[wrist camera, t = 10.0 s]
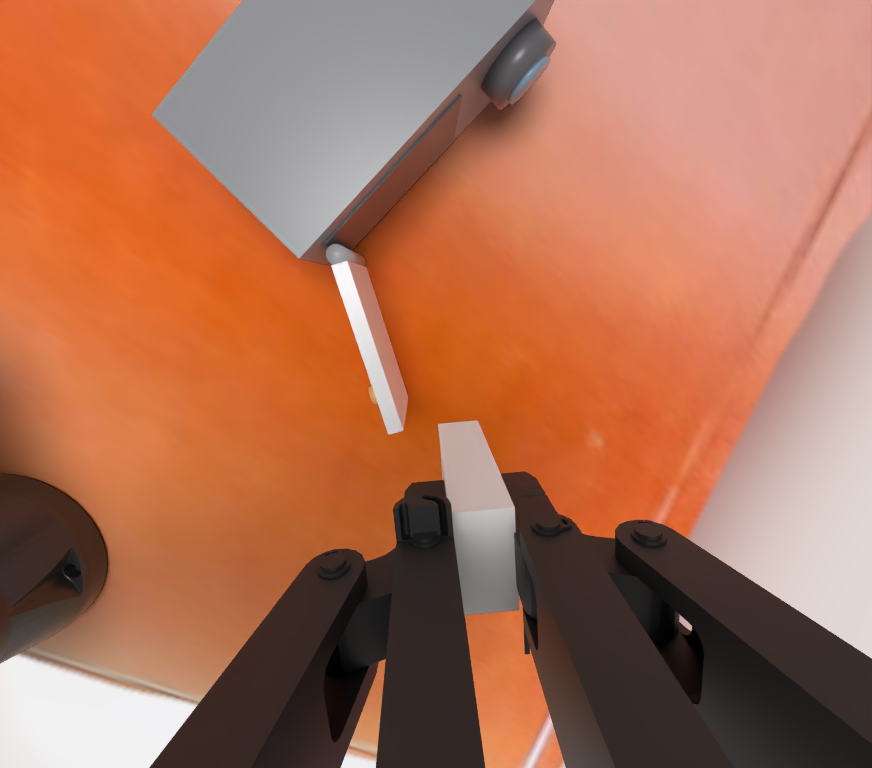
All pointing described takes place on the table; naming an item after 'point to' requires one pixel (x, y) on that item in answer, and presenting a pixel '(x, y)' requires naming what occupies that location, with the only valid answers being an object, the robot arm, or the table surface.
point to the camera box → (346, 102)
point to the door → (370, 335)
